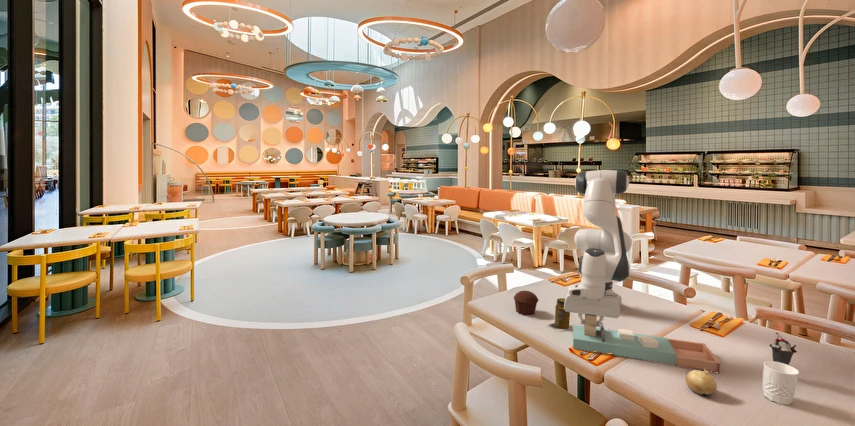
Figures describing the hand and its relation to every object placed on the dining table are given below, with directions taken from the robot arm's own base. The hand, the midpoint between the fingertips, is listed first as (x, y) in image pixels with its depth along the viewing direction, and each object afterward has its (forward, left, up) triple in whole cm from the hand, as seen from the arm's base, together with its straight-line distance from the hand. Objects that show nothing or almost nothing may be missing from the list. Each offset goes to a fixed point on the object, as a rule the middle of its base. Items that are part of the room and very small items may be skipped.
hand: (590, 325), depth 152 cm
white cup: (+19, +52, -8) cm, 56 cm away
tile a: (-2, +13, -4) cm, 14 cm away
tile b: (+2, +20, -4) cm, 20 cm away
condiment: (-13, -11, -8) cm, 19 cm away
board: (0, +11, -8) cm, 13 cm away
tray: (0, +34, -8) cm, 35 cm away
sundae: (+3, +59, -8) cm, 60 cm away
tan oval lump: (+23, +31, -8) cm, 39 cm away
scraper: (0, +1, -4) cm, 4 cm away
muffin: (-25, -27, -8) cm, 38 cm away
